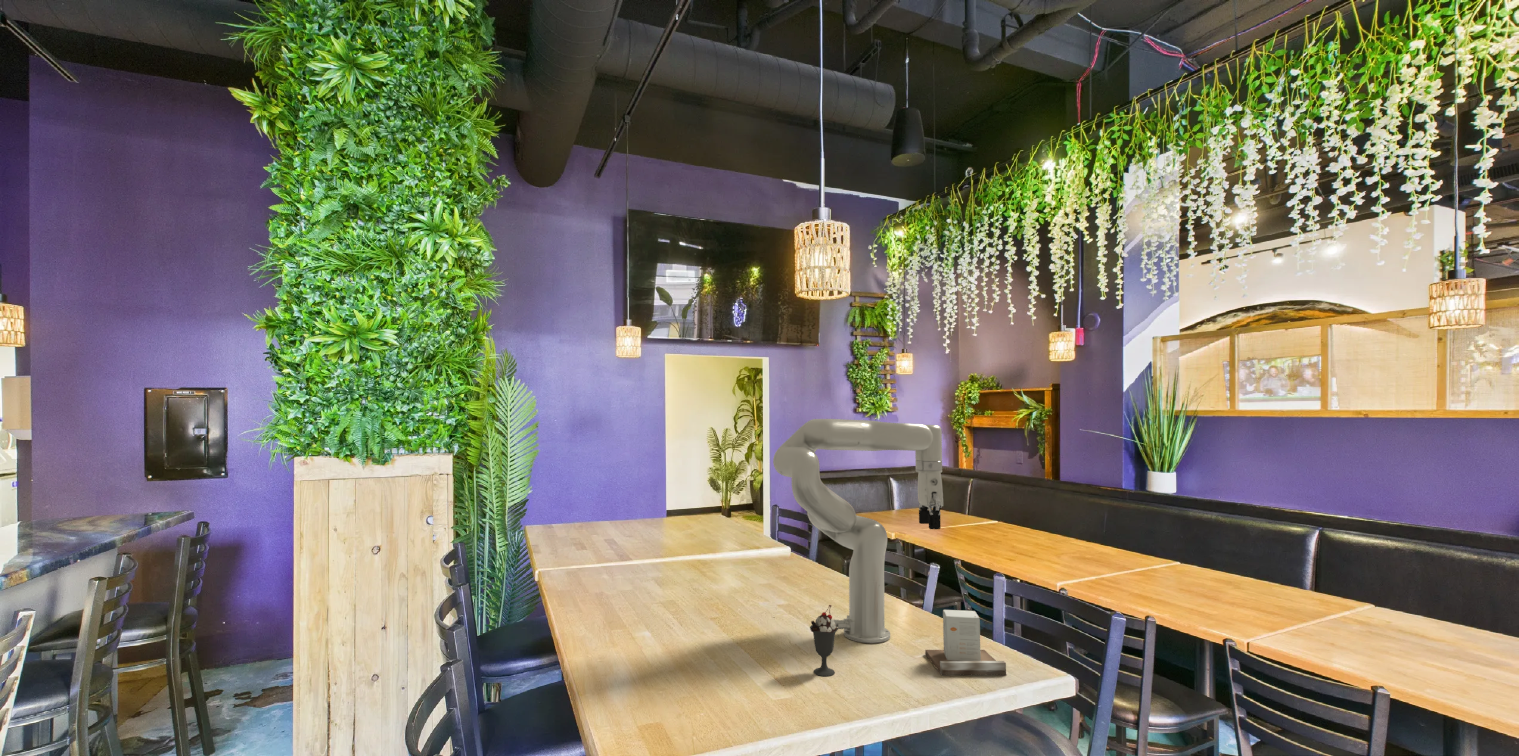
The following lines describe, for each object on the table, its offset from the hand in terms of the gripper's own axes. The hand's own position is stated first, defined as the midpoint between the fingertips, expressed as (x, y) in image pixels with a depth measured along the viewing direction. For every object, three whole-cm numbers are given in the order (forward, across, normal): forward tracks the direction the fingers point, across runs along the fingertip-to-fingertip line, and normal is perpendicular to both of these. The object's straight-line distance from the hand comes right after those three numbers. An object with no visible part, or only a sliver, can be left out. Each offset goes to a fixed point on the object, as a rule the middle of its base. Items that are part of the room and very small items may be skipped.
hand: (929, 526), depth 181 cm
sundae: (+28, -33, +35) cm, 56 cm away
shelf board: (+28, -28, 0) cm, 40 cm away
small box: (+27, -27, +1) cm, 39 cm away
